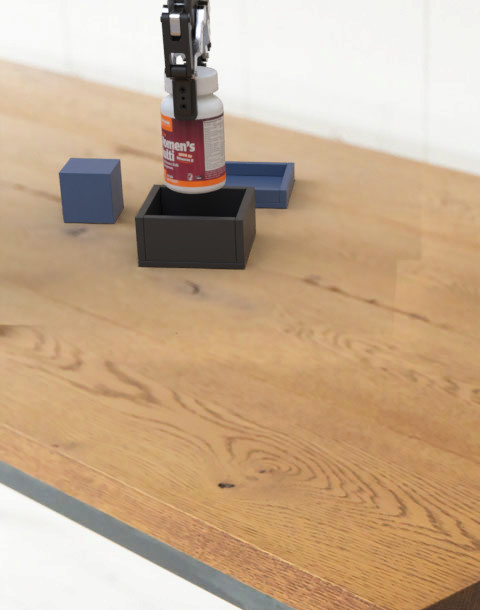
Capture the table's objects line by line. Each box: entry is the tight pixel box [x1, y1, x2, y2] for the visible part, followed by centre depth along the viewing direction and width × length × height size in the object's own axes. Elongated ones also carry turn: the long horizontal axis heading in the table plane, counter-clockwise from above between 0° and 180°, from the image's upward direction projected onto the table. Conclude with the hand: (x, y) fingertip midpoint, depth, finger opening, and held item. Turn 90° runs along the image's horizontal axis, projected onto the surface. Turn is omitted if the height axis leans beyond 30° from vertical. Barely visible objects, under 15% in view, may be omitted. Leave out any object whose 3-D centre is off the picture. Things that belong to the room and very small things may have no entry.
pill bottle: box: [160, 66, 226, 194], centre depth 132 cm, size 6×6×11 cm
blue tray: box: [224, 160, 296, 209], centre depth 154 cm, size 14×11×2 cm
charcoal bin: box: [134, 184, 257, 270], centre depth 137 cm, size 11×11×5 cm
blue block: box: [58, 157, 125, 225], centre depth 146 cm, size 6×6×6 cm
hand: (191, 109), depth 131 cm, fingers closed on pill bottle, 6 cm apart
